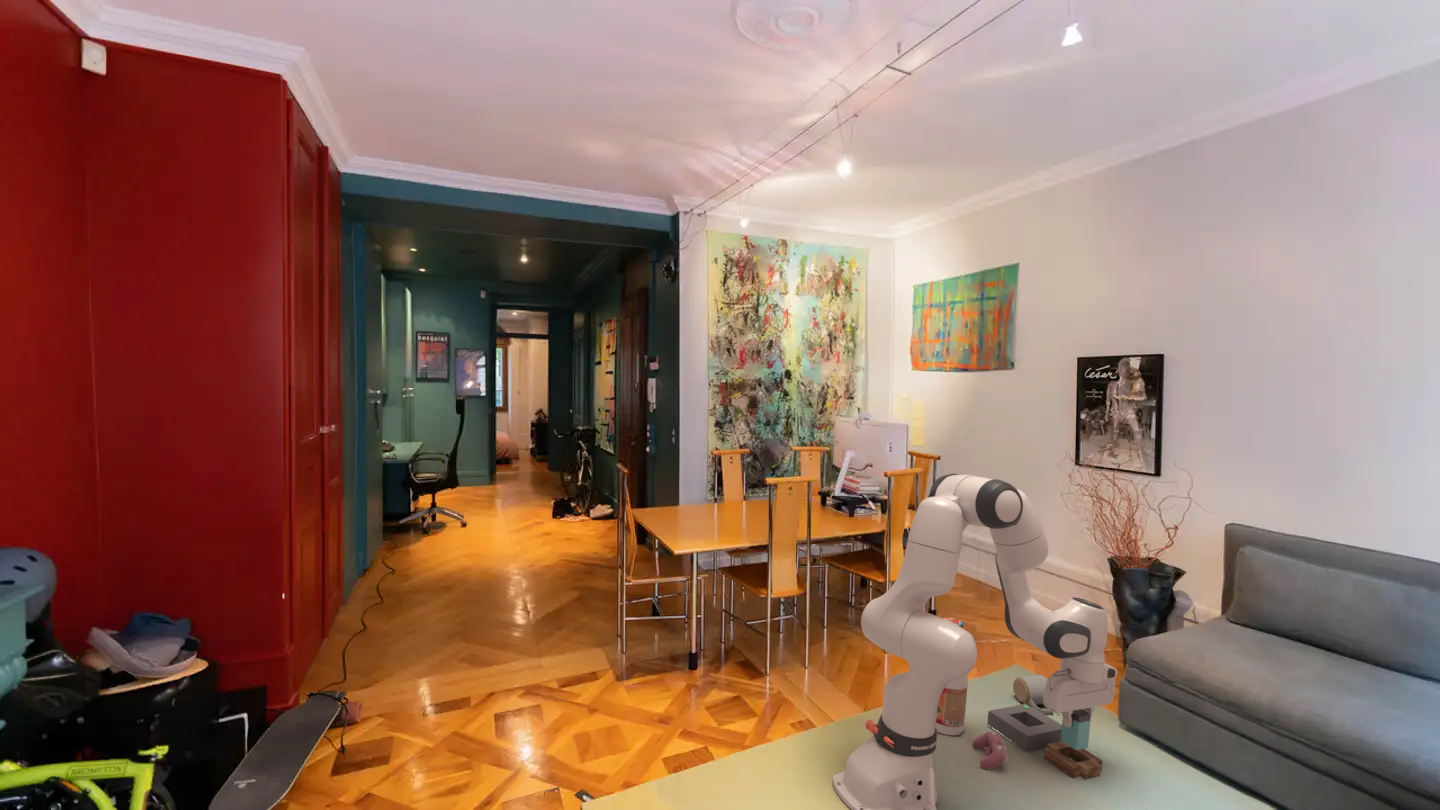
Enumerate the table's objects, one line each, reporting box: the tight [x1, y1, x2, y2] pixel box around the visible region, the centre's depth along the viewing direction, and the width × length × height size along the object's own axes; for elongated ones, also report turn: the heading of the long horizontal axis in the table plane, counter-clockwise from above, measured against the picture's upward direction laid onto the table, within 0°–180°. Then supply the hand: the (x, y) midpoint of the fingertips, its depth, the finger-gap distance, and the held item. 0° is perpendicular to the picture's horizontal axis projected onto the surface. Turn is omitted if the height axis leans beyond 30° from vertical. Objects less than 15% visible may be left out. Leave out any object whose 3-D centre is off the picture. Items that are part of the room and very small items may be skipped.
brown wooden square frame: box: [1043, 741, 1103, 781], centre depth 142 cm, size 10×10×2 cm
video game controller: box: [971, 730, 1008, 769], centre depth 142 cm, size 10×5×7 cm
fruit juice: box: [935, 616, 969, 736], centre depth 155 cm, size 9×9×28 cm
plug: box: [1061, 709, 1092, 750], centre depth 142 cm, size 4×4×8 cm
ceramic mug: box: [1012, 674, 1053, 715], centre depth 170 cm, size 11×8×8 cm
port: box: [986, 703, 1062, 753], centre depth 154 cm, size 14×12×4 cm
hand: (1075, 724), depth 142 cm, fingers closed on plug, 4 cm apart
